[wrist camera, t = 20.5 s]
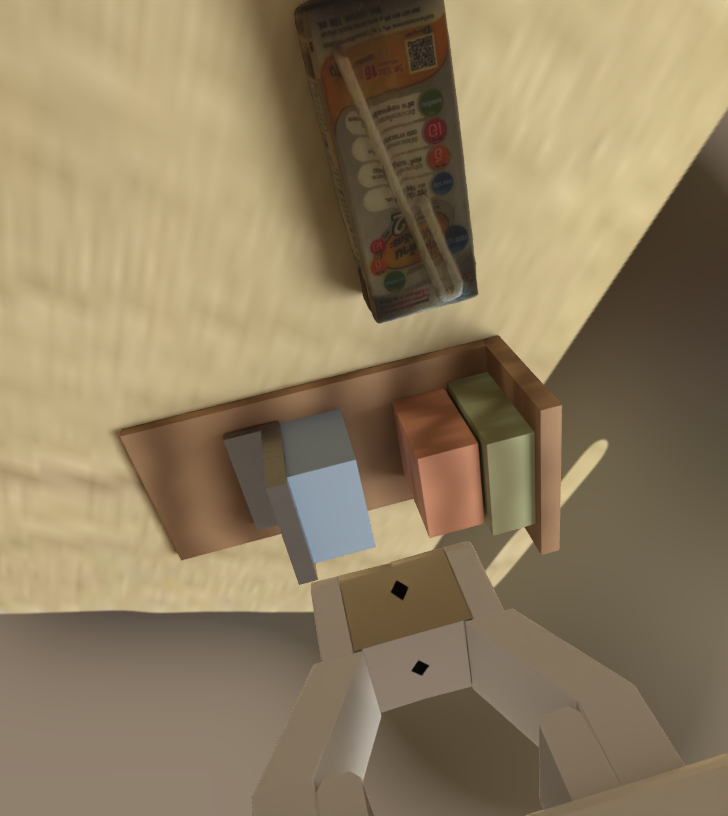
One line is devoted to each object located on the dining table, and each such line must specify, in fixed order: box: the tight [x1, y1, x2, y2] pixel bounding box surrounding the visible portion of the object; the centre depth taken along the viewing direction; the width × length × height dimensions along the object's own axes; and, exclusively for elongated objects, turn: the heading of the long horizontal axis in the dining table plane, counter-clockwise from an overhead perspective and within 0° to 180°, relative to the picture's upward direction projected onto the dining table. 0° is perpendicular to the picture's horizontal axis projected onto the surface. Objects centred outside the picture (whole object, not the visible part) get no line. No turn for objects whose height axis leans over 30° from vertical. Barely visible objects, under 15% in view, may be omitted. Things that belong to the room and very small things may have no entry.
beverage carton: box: [294, 0, 478, 323], centre depth 37 cm, size 8×19×6 cm, turn 13°
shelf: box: [120, 336, 562, 560], centre depth 47 cm, size 31×14×11 cm, turn 100°
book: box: [280, 409, 376, 563], centre depth 48 cm, size 5×9×7 cm, turn 10°
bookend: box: [223, 421, 318, 585], centre depth 47 cm, size 4×10×8 cm, turn 10°
